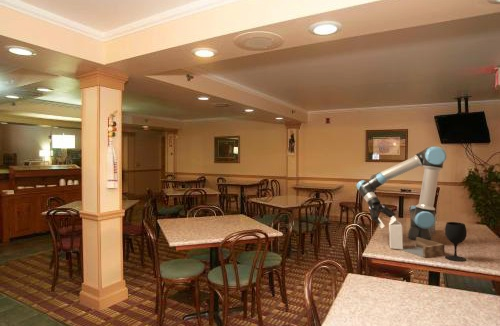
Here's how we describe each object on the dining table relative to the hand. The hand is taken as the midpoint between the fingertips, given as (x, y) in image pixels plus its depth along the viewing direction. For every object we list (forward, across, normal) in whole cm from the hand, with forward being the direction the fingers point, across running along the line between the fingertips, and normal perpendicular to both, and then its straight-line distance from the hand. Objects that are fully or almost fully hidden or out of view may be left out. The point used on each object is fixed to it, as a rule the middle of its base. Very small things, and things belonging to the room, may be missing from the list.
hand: (390, 226), depth 209 cm
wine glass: (+33, -12, +15) cm, 38 cm away
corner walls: (+20, -7, +2) cm, 22 cm away
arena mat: (+20, -6, +2) cm, 22 cm away
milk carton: (+12, -1, -7) cm, 14 cm away
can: (0, -56, -19) cm, 60 cm away
